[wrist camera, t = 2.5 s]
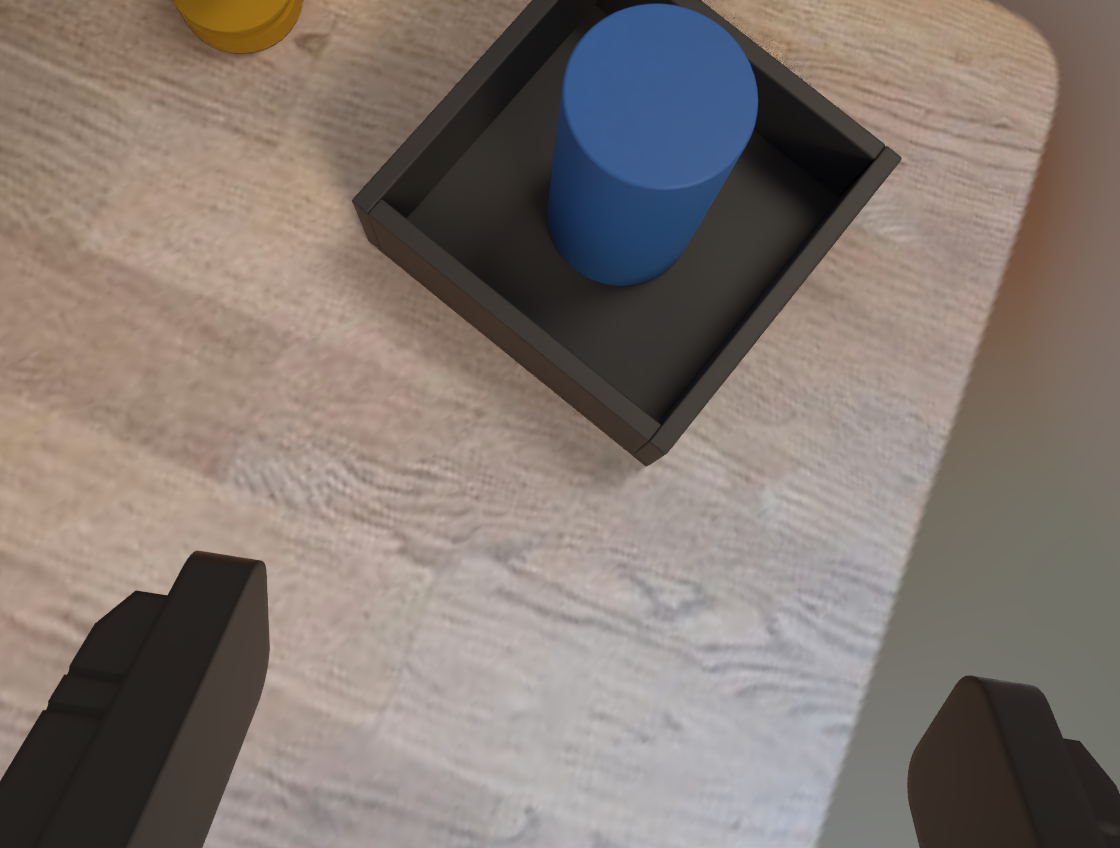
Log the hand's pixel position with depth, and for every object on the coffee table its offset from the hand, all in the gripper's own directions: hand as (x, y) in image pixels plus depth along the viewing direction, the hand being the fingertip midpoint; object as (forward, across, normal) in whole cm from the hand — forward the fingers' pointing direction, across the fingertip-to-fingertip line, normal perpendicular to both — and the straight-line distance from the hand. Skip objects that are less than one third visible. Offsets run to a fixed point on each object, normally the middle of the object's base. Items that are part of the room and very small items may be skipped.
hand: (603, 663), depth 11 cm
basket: (+21, 0, +4) cm, 22 cm away
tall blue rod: (+21, 0, +4) cm, 21 cm away
